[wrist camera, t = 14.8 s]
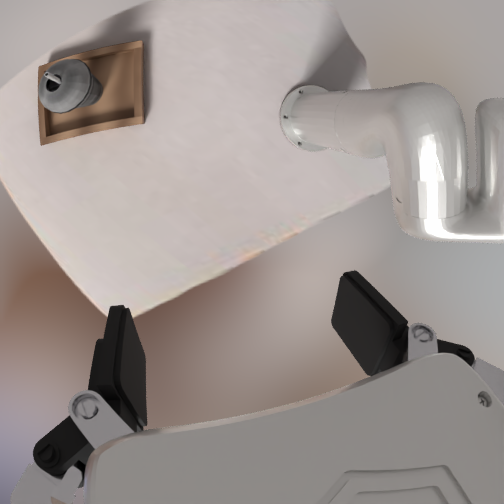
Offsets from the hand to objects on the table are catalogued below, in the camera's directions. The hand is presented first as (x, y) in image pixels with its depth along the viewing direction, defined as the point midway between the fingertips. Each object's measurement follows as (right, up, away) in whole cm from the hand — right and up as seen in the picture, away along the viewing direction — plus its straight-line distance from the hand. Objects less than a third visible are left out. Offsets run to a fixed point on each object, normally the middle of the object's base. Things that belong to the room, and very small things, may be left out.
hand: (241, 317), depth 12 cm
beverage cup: (-25, +28, +21) cm, 43 cm away
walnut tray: (-25, +28, +22) cm, 44 cm away
